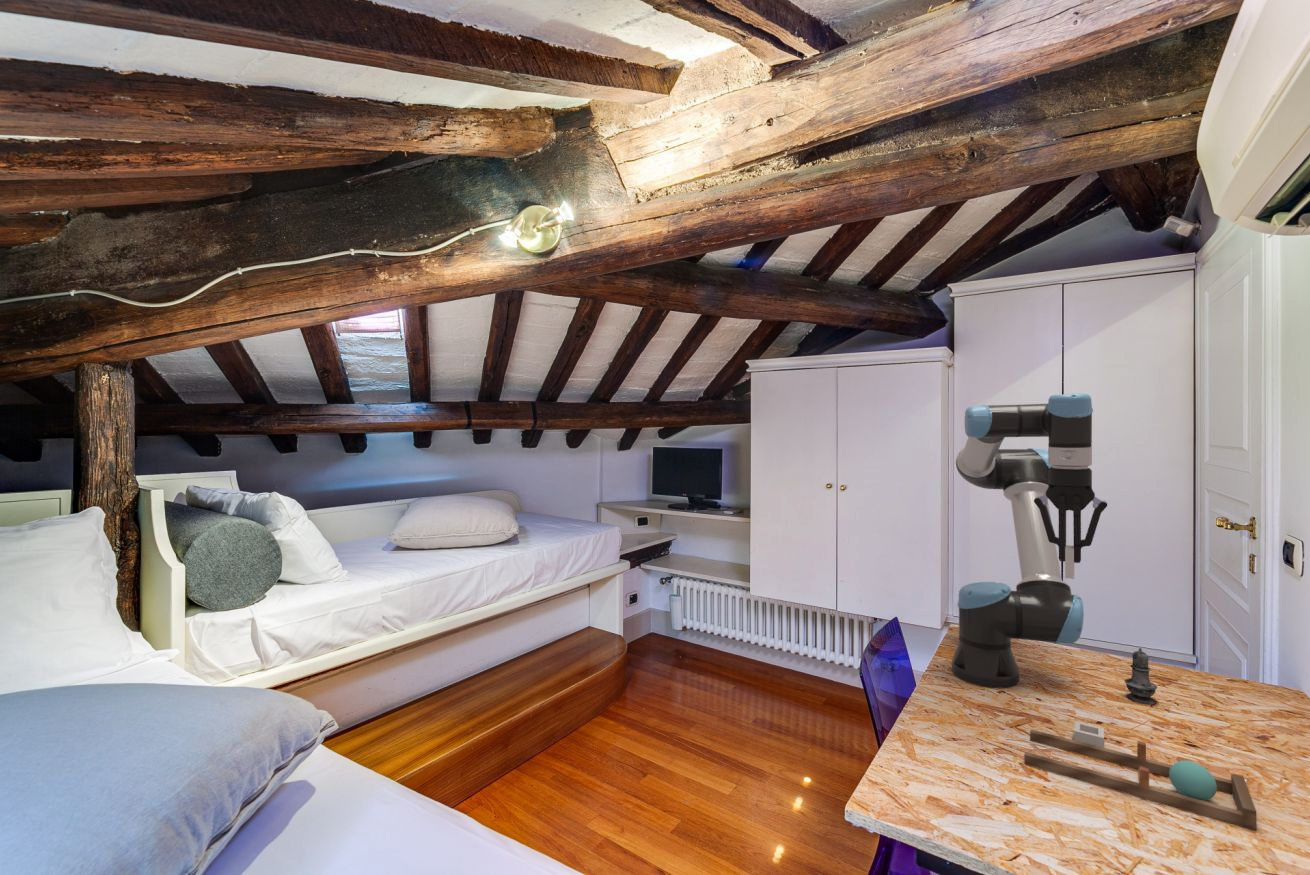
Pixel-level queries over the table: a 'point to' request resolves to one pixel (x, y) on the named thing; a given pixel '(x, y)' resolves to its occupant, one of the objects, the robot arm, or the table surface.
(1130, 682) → the dark grey chess piece
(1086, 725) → the white square frame
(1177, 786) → the ball
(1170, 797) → the lane
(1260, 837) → the table surface
